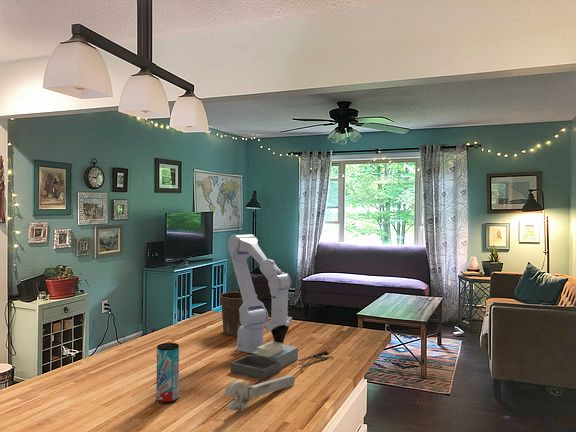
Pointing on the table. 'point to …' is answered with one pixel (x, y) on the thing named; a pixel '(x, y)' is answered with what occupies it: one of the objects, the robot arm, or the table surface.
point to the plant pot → (231, 311)
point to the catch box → (255, 367)
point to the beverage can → (167, 372)
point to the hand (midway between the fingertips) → (278, 346)
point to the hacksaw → (316, 360)
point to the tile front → (266, 350)
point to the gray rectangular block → (282, 355)
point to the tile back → (278, 345)
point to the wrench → (254, 390)
